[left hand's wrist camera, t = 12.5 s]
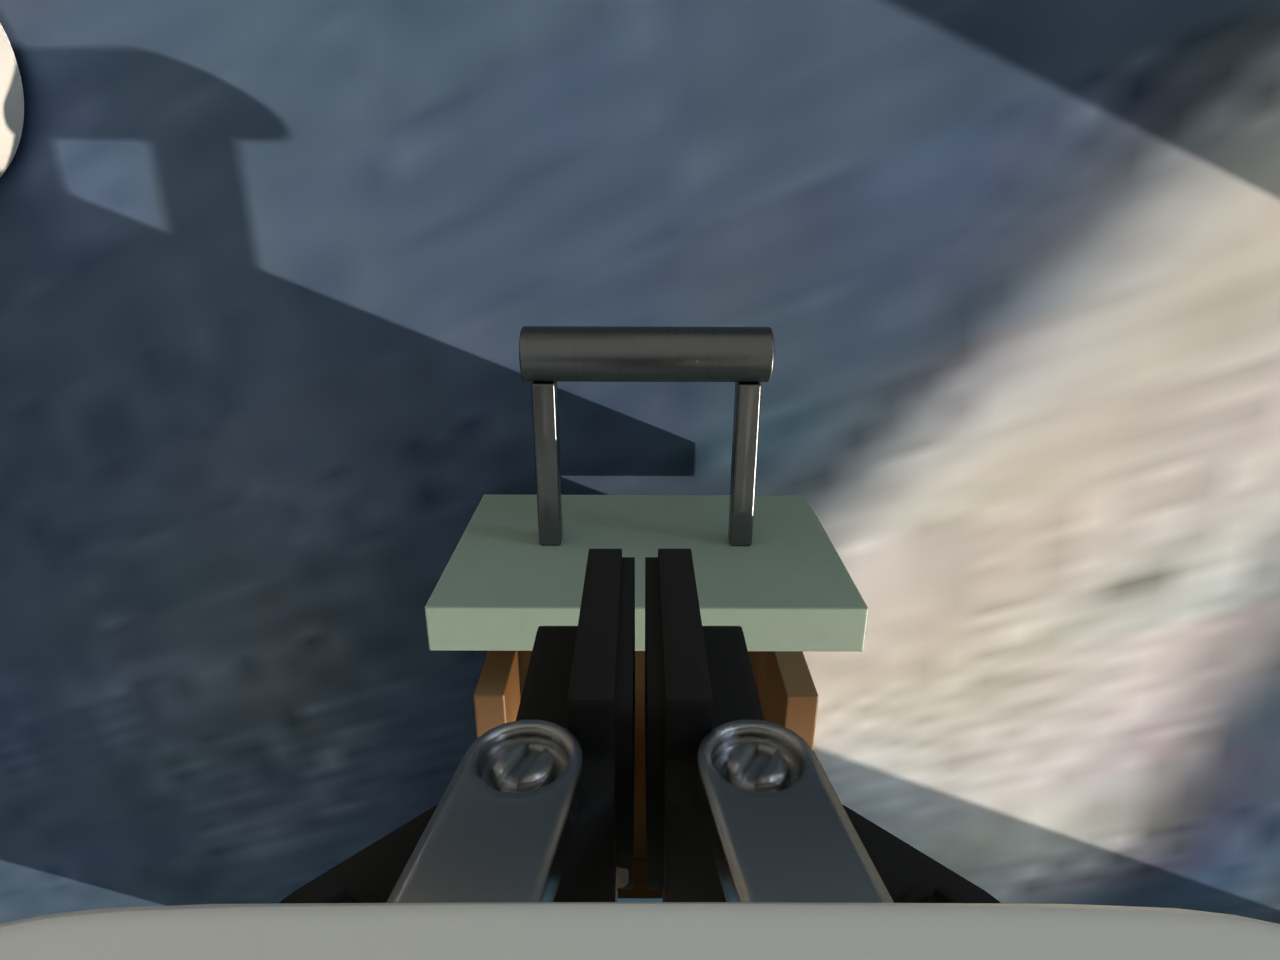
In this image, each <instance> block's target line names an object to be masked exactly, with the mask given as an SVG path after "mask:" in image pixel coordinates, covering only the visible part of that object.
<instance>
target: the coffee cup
mask: <svg viewBox="0 0 1280 960" xmlns="http://www.w3.org/2000/svg"><path fill="white" fill-rule="evenodd" d="M23 121H24V95H23V86H22V81H21V76H20V71H19V68H18V64H17V61H16V58H15V55H14V52H13V49H12V47H11V44H10V42H9V39H8V37H7V35H6V33H5V31H4V29H3V27H2V25H1V24H0V177H1V176H2V175H3V174H4V172H5V171H6V170H7V168H8V166H9V165H10V163H11V162H12V160H13V157H14V155H15V153H16V151H17V148H18V145H19V142H20V138H21V134H22V129H23Z"/></svg>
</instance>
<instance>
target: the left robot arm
mask: <svg viewBox="0 0 1280 960" xmlns="http://www.w3.org/2000/svg"><path fill="white" fill-rule="evenodd" d="M634 779H635V557H622V549H589V552H588V559H587V566H586V573H585V579H584V586H583V593H582V600H581V607H580V614H579V621H578V626H539V627H538V630H537V633H536V637H535V642H534V646H533V650H532V654H531V658H530V663H529V667H528V671H527V675H526V680H525V684H524V688H523V692H522V696H521V701H520V705H519V709H518V713H517V718H516V721H513V722H508V723H504V724H502V725H499V726H497V727H495V728H492V729H490V730H488V731H487V732H485V733H484V734H483V735H481V736H480V737H478V738H477V739H476V740H475V741H474V742H473V743H472V745H471V746H470V747H469V749H468V750H467V751H466V753H465V755H464V756H463V758H462V760H461V762H460V764H459V766H458V768H457V770H456V772H455V773H454V775H453V777H452V779H451V781H450V783H449V785H448V787H447V789H446V790H445V792H444V794H443V796H442V798H441V800H440V802H439V804H438V805H436V806H434V807H433V808H431V809H429V810H428V811H426V812H424V813H423V814H421V815H419V816H418V817H416V818H415V819H413V820H411V821H410V822H408V823H406V824H405V825H403V826H401V827H400V828H398V829H396V830H395V831H393V832H391V833H390V834H388V835H387V836H385V837H383V838H382V839H380V840H378V841H377V842H375V843H373V844H372V845H370V846H368V847H367V848H365V849H363V850H362V851H360V852H359V853H357V854H355V855H354V856H352V857H350V858H349V859H347V860H345V861H344V862H342V863H340V864H339V865H337V866H335V867H334V868H332V869H330V870H329V871H327V872H326V873H324V874H322V875H321V876H319V877H317V878H316V879H314V880H312V881H311V882H309V883H307V884H306V885H304V886H302V887H301V888H299V889H298V890H296V891H294V892H293V893H292V894H290V895H289V896H288V897H286V898H285V899H284V900H282V901H281V902H280V903H274V904H198V905H172V906H146V907H121V908H101V909H92V910H83V911H75V912H66V913H57V914H48V915H42V916H37V917H32V918H27V919H22V920H17V921H12V922H8V923H3V924H0V960H1280V924H1277V923H1272V922H1268V921H1263V920H1258V919H1253V918H1248V917H1243V916H1238V915H1232V914H1223V913H1214V912H1205V911H1197V910H1188V909H1179V908H1159V907H1134V906H1108V905H1082V904H1006V903H1000V902H999V901H998V900H996V899H995V898H994V897H992V896H991V895H990V894H988V893H987V892H986V891H984V890H982V889H981V888H979V887H978V886H976V885H974V884H973V883H971V882H969V881H968V880H966V879H964V878H963V877H961V876H959V875H958V874H956V873H954V872H953V871H951V870H950V869H948V868H946V867H945V866H943V865H941V864H940V863H938V862H936V861H935V860H933V859H931V858H930V857H928V856H926V855H925V854H923V853H921V852H920V851H918V850H917V849H915V848H913V847H912V846H910V845H908V844H907V843H905V842H903V841H902V840H900V839H898V838H897V837H895V836H893V835H892V834H890V833H889V832H887V831H885V830H884V829H882V828H880V827H879V826H877V825H875V824H874V823H872V822H870V821H869V820H867V819H865V818H864V817H862V816H861V815H859V814H857V813H856V812H854V811H852V810H851V809H849V808H847V807H846V806H844V805H842V804H841V802H840V800H839V798H838V796H837V794H836V792H835V790H834V789H833V787H832V785H831V783H830V781H829V779H828V777H827V775H826V773H825V772H824V770H823V768H822V766H821V764H820V762H819V760H818V758H817V756H816V755H815V753H814V751H813V750H812V749H811V747H810V746H809V745H808V743H807V742H806V741H805V740H804V739H803V738H802V737H800V736H799V735H797V734H796V733H795V732H793V731H792V730H790V729H788V728H785V727H783V726H781V725H778V724H776V723H772V722H767V721H764V718H763V713H762V709H761V705H760V701H759V696H758V692H757V688H756V684H755V680H754V675H753V671H752V667H751V663H750V658H749V654H748V650H747V646H746V642H745V637H744V633H743V630H742V627H741V626H702V621H701V614H700V607H699V600H698V593H697V586H696V579H695V573H694V566H693V559H692V552H691V549H658V557H645V779H646V884H647V889H662V900H663V902H617V900H618V889H633V884H634Z"/></svg>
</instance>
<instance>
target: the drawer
mask: <svg viewBox="0 0 1280 960" xmlns="http://www.w3.org/2000/svg"><path fill="white" fill-rule="evenodd" d="M519 360H520V370H521V375H522V378H523V380H524V381H533V383H532V385H531V390H532V410H533V430H534V450H535V470H536V491H537V495H489V494H485V495H483V497H482V499H481V501H480V503H479V505H478V506H477V508H476V510H475V512H474V514H473V516H472V518H471V520H470V522H469V524H468V525H467V527H466V529H465V531H464V533H463V535H462V537H461V539H460V541H459V543H458V545H457V546H456V548H455V550H454V552H453V554H452V556H451V558H450V560H449V562H448V564H447V565H446V567H445V569H444V571H443V573H442V575H441V577H440V579H439V581H438V583H437V584H436V586H435V588H434V590H433V592H432V594H431V596H430V598H429V600H428V602H427V604H426V605H425V617H426V626H427V634H428V643H429V649H430V650H484V651H488V653H487V656H486V659H485V661H484V664H483V667H482V670H481V673H480V676H479V679H478V682H477V685H476V688H475V691H474V694H473V702H474V713H475V724H476V734H477V738H478V737H480V736H481V735H483V734H484V733H485V732H487V731H488V730H490V729H492V728H495V727H497V726H499V725H502V724H504V723H508V722H513V721H516V718H517V713H518V709H519V705H520V701H521V696H522V692H523V688H524V684H525V680H526V675H527V671H528V667H529V663H530V658H531V654H532V650H533V646H534V642H535V637H536V633H537V630H538V627H539V626H578V621H579V614H580V607H581V600H582V593H583V586H584V579H585V573H586V566H587V559H588V552H589V549H622V557H635V779H634V884H633V889H618V898H662V889H647V884H646V779H645V557H658V549H691V552H692V559H693V566H694V573H695V579H696V586H697V593H698V600H699V607H700V614H701V621H702V626H741V627H742V630H743V633H744V637H745V642H746V646H747V650H748V654H749V658H750V663H751V667H752V671H753V675H754V680H755V684H756V688H757V692H758V696H759V701H760V705H761V709H762V713H763V718H764V721H767V722H772V723H776V724H778V725H781V726H783V727H785V728H788V729H790V730H792V731H793V732H795V733H796V734H797V735H799V736H800V737H802V738H803V739H804V740H805V741H806V742H807V743H808V745H809V746H810V747H811V749H812V750H813V744H814V735H815V725H816V716H817V706H818V694H817V691H816V688H815V685H814V683H813V680H812V677H811V674H810V671H809V669H808V666H807V663H806V660H805V657H804V655H803V652H802V651H863V646H864V638H865V630H866V622H867V614H868V607H867V605H866V604H865V602H864V600H863V598H862V596H861V595H860V593H859V591H858V589H857V587H856V586H855V584H854V582H853V580H852V578H851V577H850V575H849V573H848V571H847V569H846V567H845V566H844V564H843V562H842V560H841V558H840V557H839V555H838V553H837V551H836V549H835V548H834V546H833V544H832V542H831V540H830V539H829V537H828V535H827V533H826V531H825V530H824V528H823V526H822V524H821V522H820V521H819V519H818V517H817V515H816V513H815V512H814V510H813V508H812V506H811V504H810V503H809V501H808V499H807V497H806V496H805V495H755V484H756V467H757V451H758V435H759V419H760V402H761V384H760V382H768V381H770V379H771V376H772V372H773V365H774V336H773V332H772V329H771V328H769V327H561V326H524V327H522V330H521V333H520V341H519ZM557 381H595V382H736V383H735V403H734V424H733V444H732V465H731V485H730V495H561V475H560V448H559V421H558V394H557Z"/></svg>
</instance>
